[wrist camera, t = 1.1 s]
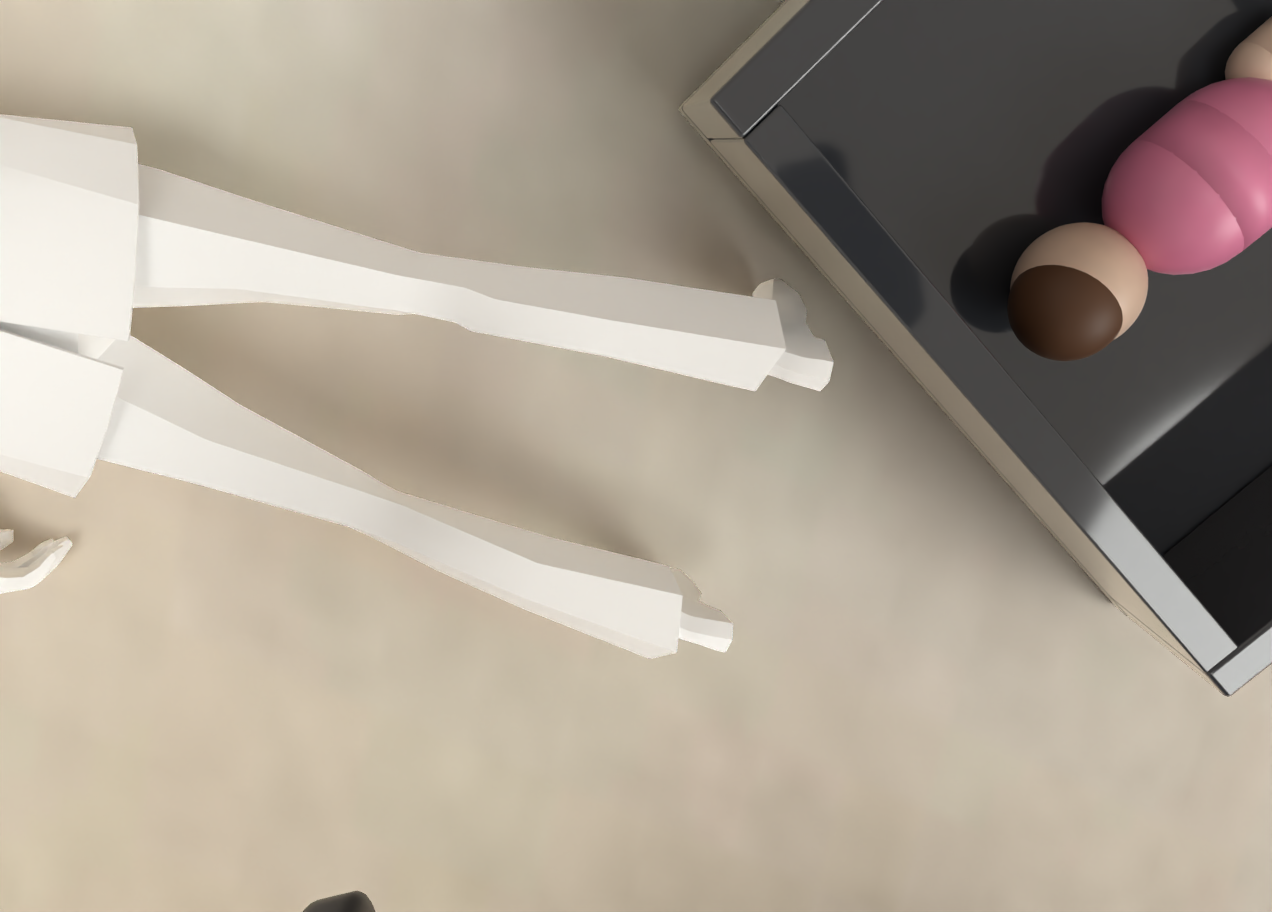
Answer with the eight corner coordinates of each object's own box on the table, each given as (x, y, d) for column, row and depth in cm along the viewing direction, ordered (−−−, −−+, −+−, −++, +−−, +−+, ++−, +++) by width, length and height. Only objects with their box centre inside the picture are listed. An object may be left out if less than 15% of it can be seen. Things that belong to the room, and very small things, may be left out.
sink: (1545, 253, 22) (1762, 277, 18) (1115, 607, 24) (1228, 700, 20) (1159, -373, 18) (1331, -519, 14) (676, 109, 20) (708, 100, 16)
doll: (1287, -20, 19) (1396, -36, 16) (1362, 97, 20) (1478, 99, 17) (949, 273, 21) (997, 301, 18) (1029, 370, 21) (1088, 411, 19)
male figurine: (788, 115, 22) (-833, -476, 14) (932, 125, 16) (-1674, -863, 8) (600, 671, 25) (-775, 448, 17) (663, 843, 19) (-1335, 623, 12)
